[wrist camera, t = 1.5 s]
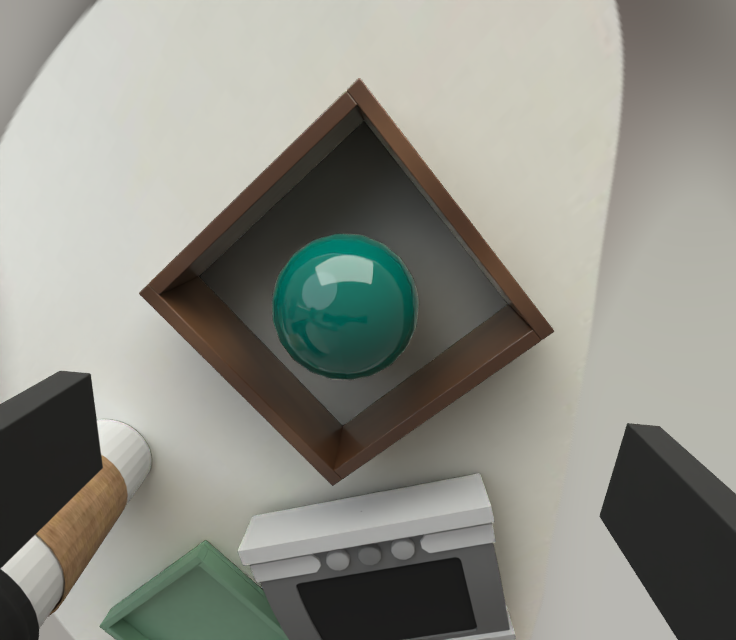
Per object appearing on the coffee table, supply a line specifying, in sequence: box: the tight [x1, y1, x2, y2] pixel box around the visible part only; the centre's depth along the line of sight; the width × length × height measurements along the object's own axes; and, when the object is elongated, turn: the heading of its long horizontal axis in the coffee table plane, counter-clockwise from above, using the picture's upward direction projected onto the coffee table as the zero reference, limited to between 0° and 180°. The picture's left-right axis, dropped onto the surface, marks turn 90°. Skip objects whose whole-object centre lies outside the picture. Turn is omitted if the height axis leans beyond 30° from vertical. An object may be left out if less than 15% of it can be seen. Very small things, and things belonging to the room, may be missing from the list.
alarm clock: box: [238, 473, 516, 640], centre depth 32 cm, size 17×5×16 cm
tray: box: [100, 540, 289, 640], centre depth 36 cm, size 12×12×2 cm
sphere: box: [272, 233, 419, 381], centre depth 23 cm, size 8×8×8 cm
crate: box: [139, 78, 554, 486], centre depth 25 cm, size 16×16×5 cm
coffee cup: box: [0, 419, 152, 640], centre depth 25 cm, size 8×8×15 cm
